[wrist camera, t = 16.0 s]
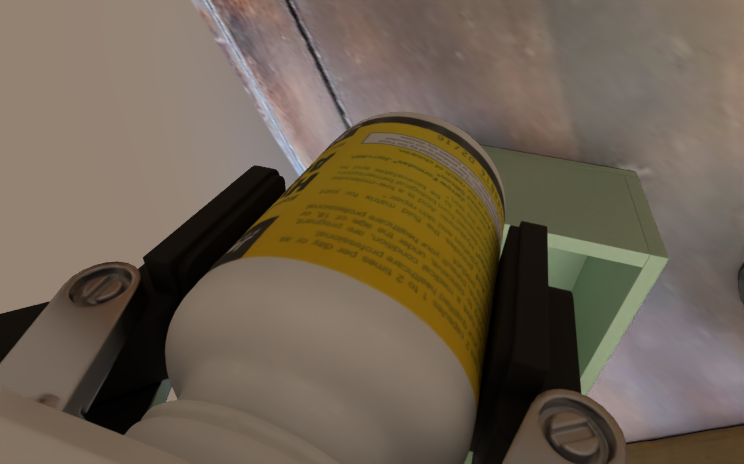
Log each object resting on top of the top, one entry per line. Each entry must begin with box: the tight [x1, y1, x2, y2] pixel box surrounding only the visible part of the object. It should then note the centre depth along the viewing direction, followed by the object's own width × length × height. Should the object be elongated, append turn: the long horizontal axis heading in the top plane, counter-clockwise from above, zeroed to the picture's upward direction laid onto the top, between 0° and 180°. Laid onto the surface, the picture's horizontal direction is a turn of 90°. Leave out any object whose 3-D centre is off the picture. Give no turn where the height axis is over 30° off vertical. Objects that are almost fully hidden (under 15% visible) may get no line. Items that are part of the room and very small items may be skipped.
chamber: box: [480, 145, 669, 396], centre depth 32 cm, size 16×13×10 cm
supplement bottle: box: [124, 112, 505, 464], centre depth 9 cm, size 5×5×10 cm
